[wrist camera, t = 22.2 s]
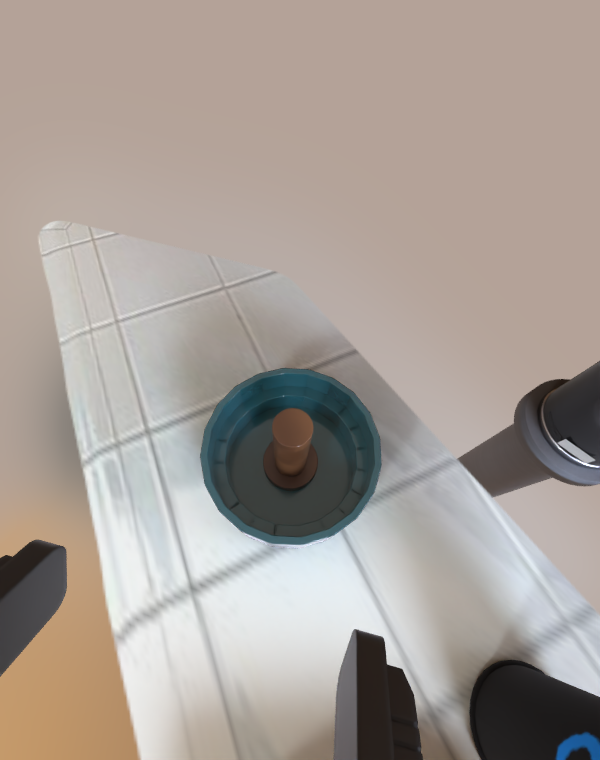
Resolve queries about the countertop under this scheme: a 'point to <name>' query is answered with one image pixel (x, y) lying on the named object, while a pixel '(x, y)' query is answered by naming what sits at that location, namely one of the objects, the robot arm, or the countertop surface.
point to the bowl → (330, 440)
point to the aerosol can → (532, 716)
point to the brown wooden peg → (291, 451)
